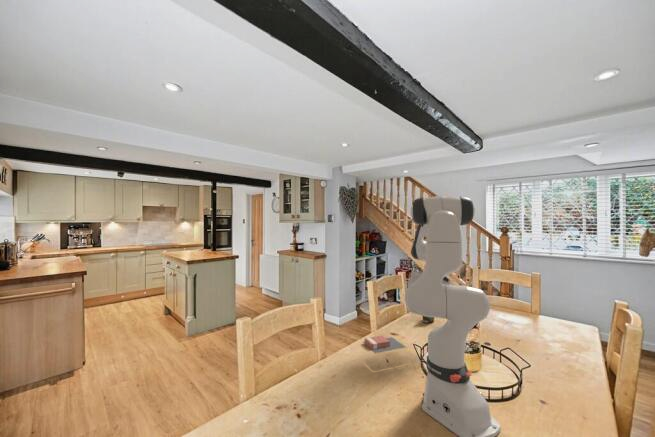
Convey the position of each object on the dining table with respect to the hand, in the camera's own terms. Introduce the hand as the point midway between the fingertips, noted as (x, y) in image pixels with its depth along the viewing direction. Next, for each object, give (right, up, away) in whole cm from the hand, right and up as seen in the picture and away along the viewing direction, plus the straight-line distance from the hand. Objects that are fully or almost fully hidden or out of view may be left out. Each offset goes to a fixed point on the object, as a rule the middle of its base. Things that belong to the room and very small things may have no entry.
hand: (424, 301), depth 129 cm
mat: (-19, -22, 0) cm, 29 cm away
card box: (-18, -20, +2) cm, 27 cm away
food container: (+16, -23, +32) cm, 43 cm away
